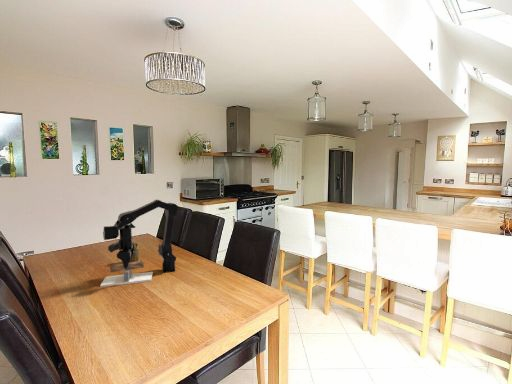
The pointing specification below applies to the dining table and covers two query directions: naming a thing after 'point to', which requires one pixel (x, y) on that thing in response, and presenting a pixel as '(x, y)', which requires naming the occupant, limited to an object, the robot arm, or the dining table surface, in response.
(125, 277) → the balance stand
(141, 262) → the walnut bar
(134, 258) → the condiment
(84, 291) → the dining table surface
